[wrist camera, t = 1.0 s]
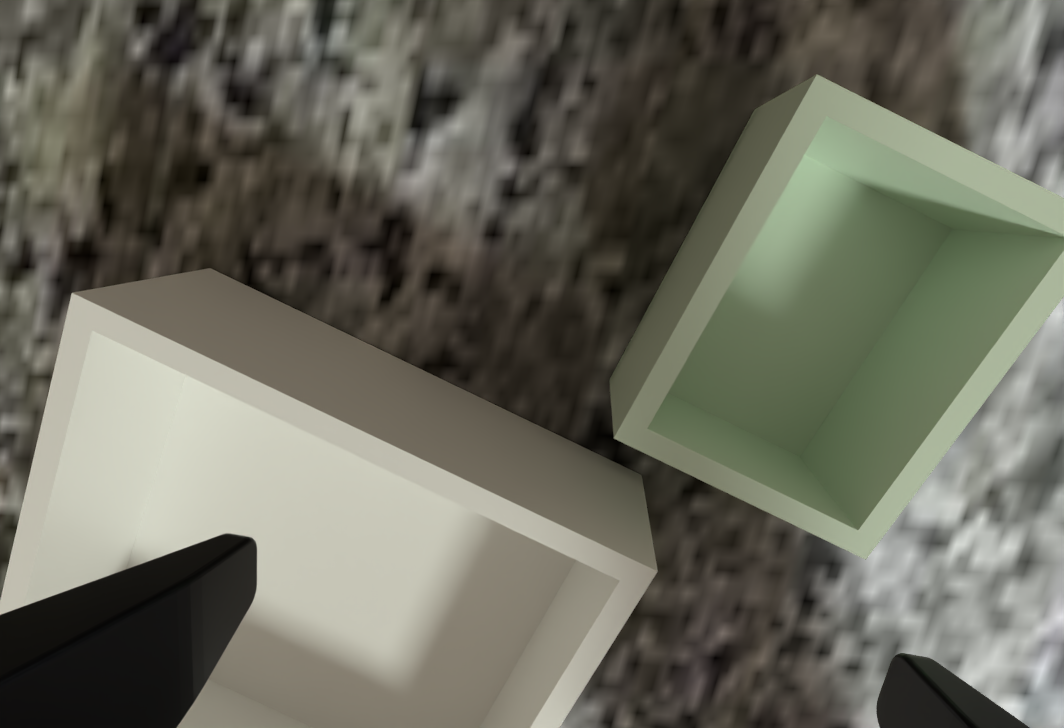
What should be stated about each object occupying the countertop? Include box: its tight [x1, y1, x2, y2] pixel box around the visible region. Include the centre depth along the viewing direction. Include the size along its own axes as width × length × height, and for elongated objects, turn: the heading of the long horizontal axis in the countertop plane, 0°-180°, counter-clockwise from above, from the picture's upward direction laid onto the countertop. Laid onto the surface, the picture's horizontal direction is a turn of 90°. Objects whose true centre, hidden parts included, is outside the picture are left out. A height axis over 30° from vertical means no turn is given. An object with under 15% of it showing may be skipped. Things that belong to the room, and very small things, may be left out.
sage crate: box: [609, 75, 1064, 559], centre depth 16 cm, size 7×9×5 cm
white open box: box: [0, 268, 658, 728], centre depth 20 cm, size 16×16×6 cm
